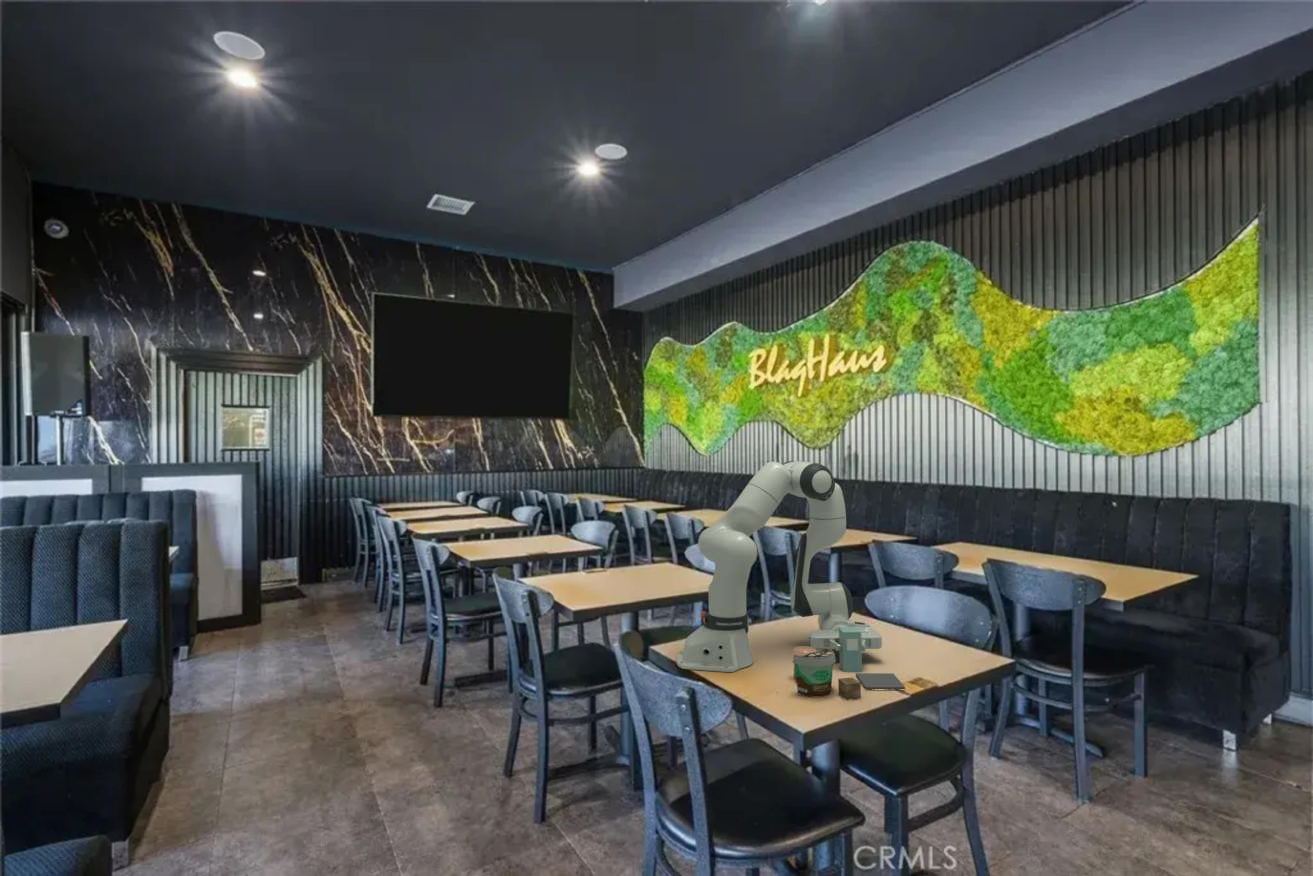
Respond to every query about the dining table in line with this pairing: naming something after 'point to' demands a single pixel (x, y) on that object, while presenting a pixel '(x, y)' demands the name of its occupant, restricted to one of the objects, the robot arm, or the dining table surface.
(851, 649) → the tall green rectangular block
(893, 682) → the mat
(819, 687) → the food container
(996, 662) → the dining table surface
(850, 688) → the walnut cube
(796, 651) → the tan rounded cylinder
